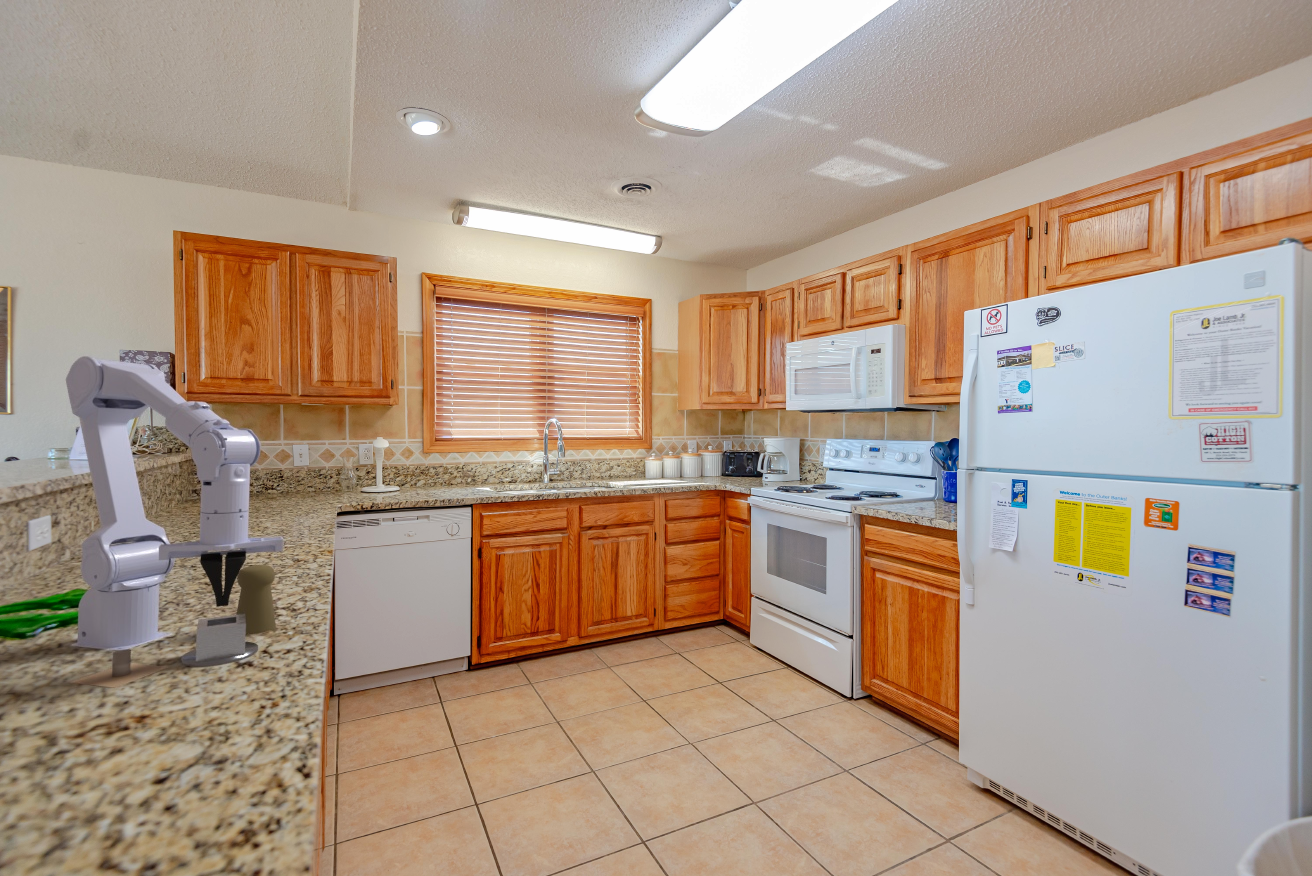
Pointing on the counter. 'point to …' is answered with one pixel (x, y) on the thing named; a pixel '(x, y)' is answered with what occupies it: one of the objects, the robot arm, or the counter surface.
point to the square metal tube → (220, 637)
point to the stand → (120, 671)
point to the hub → (190, 659)
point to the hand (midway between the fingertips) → (222, 604)
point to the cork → (256, 598)
